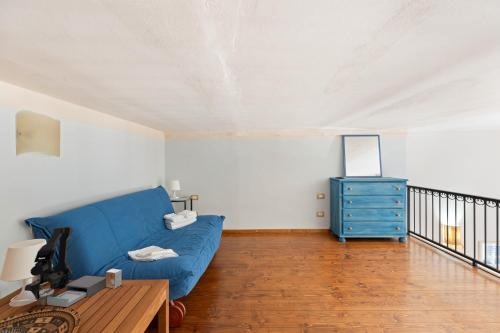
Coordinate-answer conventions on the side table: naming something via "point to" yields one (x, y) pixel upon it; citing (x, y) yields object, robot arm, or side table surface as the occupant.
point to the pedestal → (43, 300)
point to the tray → (66, 298)
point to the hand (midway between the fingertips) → (45, 295)
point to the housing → (88, 284)
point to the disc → (46, 292)
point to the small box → (113, 278)
